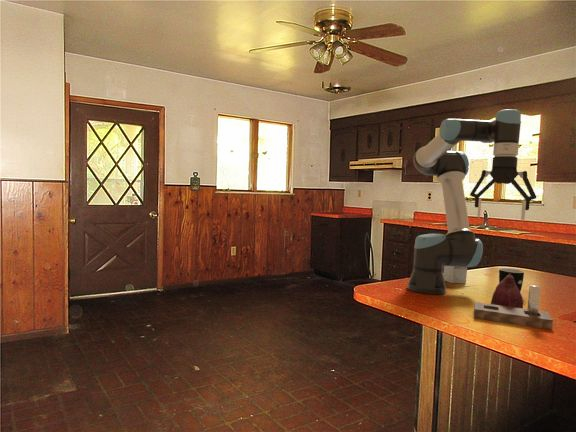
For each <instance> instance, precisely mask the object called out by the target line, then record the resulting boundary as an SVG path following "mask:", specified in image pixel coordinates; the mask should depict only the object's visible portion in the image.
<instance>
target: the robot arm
mask: <svg viewBox="0 0 576 432" xmlns="http://www.w3.org/2000/svg"><path fill="white" fill-rule="evenodd" d="M521 116H522V114H521V111H520V110H518V109H501V110H499V111H497V112H496V114H495V119H493V120H483V119H481V120H480V119H462V118H446V119H443V120H442V121H441V124H440V127H439V129H438V130H439V133H438V134H437V135H436V136H435V137H433V139H432V140H430V141H429V142H428V143H427V144H426V145H425V146H422V147H420V148H418V150H416V151H415V152H414V155H413V158H412V159H413V160H412V161H413V165H414V167H415V169H416V170H417V171H418V172H419V173H421V174H423V175H426V176H435V177H437V178H436V179H437V182H438V183H439V184H441V187H442V197H443V203H444V211H445V217H446V219H445V220H446V224H447V233H446V234H443V233H425V234H420V235H417V236H416V238H415V242H414V246H413V248H414V250H413V251H414V253H413V266H412V267H413V269H412V273H411V274H410V278H409V279H408V282H407V289H408V290H410V291H412V292H415V293H420V294H426V295H444V294H446V292H447V285H446V281H445V280H444V277H443V275H444V266H463V267H467V268H468V267H476V266H478V264H479V263H480V262H481V260H482V258H483V257H482V256H483V253H484V245H483V242H482V241H481V239H479V238H476V234H475V232H474V231H473V230H471V228H470V222H469V217H468V210H467V209H468V208H467V203H466V197H465V191H464V189H465V188H464V184H463V180H464V179H465V178H466V176H467V175H468V173H469V169H470V168H469V167H470V162H469V158H468V155H467V154H466V153H465V152H464V151H460V150H455V149H454V150H451V149H452V148H453V147H455V146H456V145H457V144H458V143H460V142H461V141H462V142H463V141H464V142H465V141H466V142H480V143H483V144H488V143H489V144H492V143H493V153H492V155H493V158H492V164H491V170H490V171H489V170H485V169H482V171H481V175H480V177H479V179H478V181H477V182H476V184H475V186H474V187H473V188H472V190H471V191H470V193H469V196H470V197H473V198H474V208H477V215H476V216H477V217H476V218H481V208H482V207H481V205H482V198H480V197H481V196H482V195H483V194H484V193H486V191H488V190H489V188H491V187H492V186H493V185H494V184H495V183H496V184H500V185H501V184H504V185H508V184H511V185H512V186H513V187H514V188H515V189H516V190H517V192H518V193H519V194H520V196H522V198H524V200H522V203H521V205H522V206H521V215H520V220H521V221H525V218H526V211H529V210H530V205H531V204H530V201H532V200H536V199H537V195H536V193H535V190H534V189H533V186H532V184H531V181H529V180H530V179H528V171H526V170H523V171H518V169H517V168H518V159H519V158H518V157H517V156H518V155H519V143H520V142H519V141H520V133H521V125H522V124H521V123H522V121H521V118H522V117H521ZM488 176H490V177H491V178H492V179H491V180H490V181H489V182H488V183H487V184H486V185H485V186H484V187H482V189H481V190H479V192H478V193H477V190H478V189H479V187H480V186H481V184H482V183H483V181H484V180H485V178H486V177H487V178H488ZM518 176H519V177H520V178H521V179H522V181H523V183H524V184H525V187H526V189H527V191H528V194H529V195H528V194H527V193H526V191H525V190H524V189H523V188H522V186H520V184H519V183H518V182H517V180H515V179H516V178H517V177H518Z"/></svg>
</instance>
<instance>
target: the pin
mask: <svg viewBox="0 0 576 432" xmlns="http://www.w3.org/2000/svg"><path fill="white" fill-rule="evenodd" d="M540 295H541V286H539V285H534V284H529V290H528V299H527V300H528V302H527V309H528V310H527V314H528V315H535V316H538V311H539V305H540Z"/></svg>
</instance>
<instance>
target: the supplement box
mask: <svg viewBox="0 0 576 432" xmlns="http://www.w3.org/2000/svg"><path fill="white" fill-rule="evenodd" d="M467 273H468V267H463V266H443V277H444V280H445V282H448V283H450V284H467V277H468V276H467V275H468V274H467Z"/></svg>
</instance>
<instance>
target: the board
mask: <svg viewBox="0 0 576 432" xmlns="http://www.w3.org/2000/svg"><path fill="white" fill-rule="evenodd" d="M473 307H474V308H473V313H474V314H473V315H474V317H473V318H474V319H477V318H478V320H479V319H480V320H484V319H486V320H485V321H491V320H492V321H491V322H498V323H505V324H512V325H517V326H518V325H519V326H525V327H532V328H538V329H545V330H549V331H550V330H551V331H553V323H554V319H553V318H552V316H551V315H550V314H549V312H548V311H543V310H538V316H535V315H528V314H527V310H528V308H524V307H523V308H515V307H508V306H501V305H493V304H491V303H486V302H479V301H478V302H477V301H474V306H473Z"/></svg>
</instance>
